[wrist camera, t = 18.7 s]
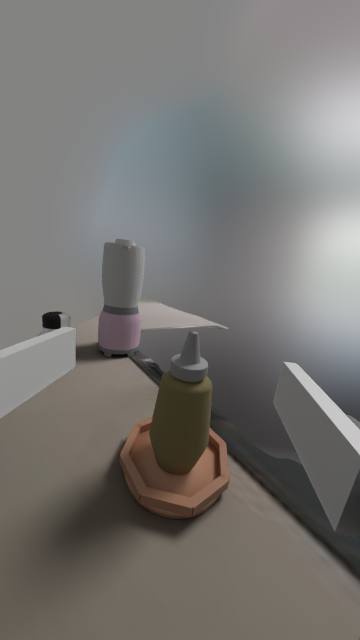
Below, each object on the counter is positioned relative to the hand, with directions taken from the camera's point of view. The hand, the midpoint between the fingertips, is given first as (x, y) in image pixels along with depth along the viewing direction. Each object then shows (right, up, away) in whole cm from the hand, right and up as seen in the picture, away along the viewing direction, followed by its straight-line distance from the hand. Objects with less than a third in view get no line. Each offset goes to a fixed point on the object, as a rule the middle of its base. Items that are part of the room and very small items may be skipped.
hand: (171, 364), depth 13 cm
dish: (0, -17, +16) cm, 24 cm away
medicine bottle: (-31, -7, +42) cm, 53 cm away
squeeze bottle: (0, -16, +16) cm, 23 cm away
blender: (-19, -6, +53) cm, 56 cm away
